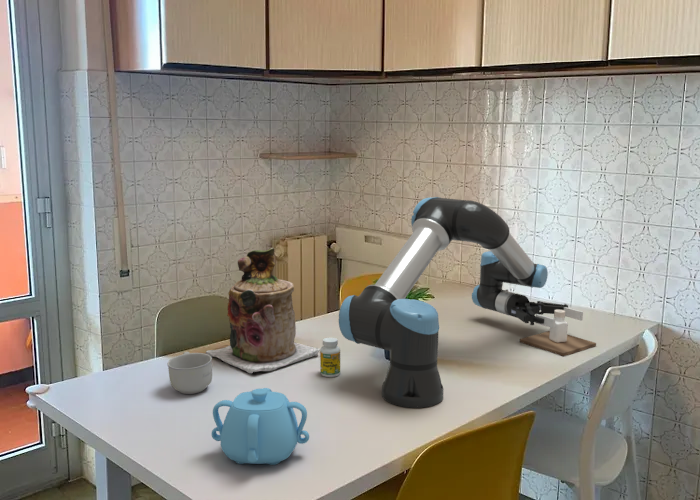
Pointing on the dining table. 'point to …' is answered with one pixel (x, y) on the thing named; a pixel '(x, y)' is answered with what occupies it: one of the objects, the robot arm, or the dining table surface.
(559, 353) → the board
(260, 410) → the decorative pot
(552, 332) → the pepper shaker
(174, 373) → the teacup
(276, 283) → the cookie jar
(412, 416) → the dining table surface
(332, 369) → the supplement bottle
